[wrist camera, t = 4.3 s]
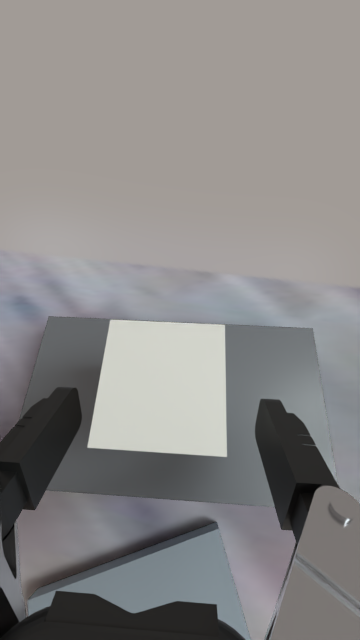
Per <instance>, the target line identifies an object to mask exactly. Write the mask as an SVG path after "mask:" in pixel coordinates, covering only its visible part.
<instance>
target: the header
mask: <svg viewBox="0 0 360 640" xmlns="http://www.w3.org/2000/svg"><path fill="white" fill-rule="evenodd" d="M110 320H119V319H97V318H75V317H54V316H49V318H48V321H47V325H46V328H45V332H44V335H43V339H42V342H41V346H40V349H39V353H38V356H37V360H36V363H35V366H34V370H33V373H32V377H31V380H30V384H29V387H28V391H27V394H26V398H25V401H24V405H23V408H22V412H21V415H20V419H22V418H23V416H24V414H25V413H26V412H27V411H28V410H29V409H30V407H31V406H33V405H34V404H36V403H37V402H39V401H40V400H42V399H43V398H48V397H49V396H50V395H51V394H52V392H53V391H54V390H55V389H56V388H57V387H72V388H77V390H78V394H79V400H80V406H81V412H82V421H81V425H80V428H79V430H78V432H77V434H76V436H75V437H74V439H73V441H72V443H71V445H70V447H69V449H68V450H67V452H66V454H65V456H64V458H63V460H62V461H61V463H60V465H59V467H58V469H57V471H56V472H55V474H54V476H53V478H52V480H51V482H50V483H49V485H48V487H47V489H46V490H50V491H63V492H77V493H90V494H104V495H117V496H131V497H144V498H158V499H171V500H184V501H198V502H211V503H225V504H238V505H252V506H265V507H275V505H274V502H273V498H272V495H271V491H270V488H269V484H268V481H267V477H266V474H265V470H264V467H263V463H262V460H261V456H260V453H259V449H258V446H257V442H256V438H255V423H256V418H257V413H258V408H259V403H260V400H261V399H279V400H280V401H281V402H282V404H283V406H284V408H285V410H286V412H287V413H294V414H295V415H296V416H297V417H298V418H299V419H300V420H301V421H302V422H303V423H304V424H305V426H306V428H307V429H308V431H309V433H310V437H312V439H313V440H314V442H315V444H316V447H317V448H318V450H319V451H320V453H321V455H322V457H323V459H324V460H325V462H326V464H327V466H328V468H329V470H330V471H331V473H332V475H333V477H334V479H335V481H336V482H337V484H338V481H337V475H336V469H335V463H334V457H333V450H332V444H331V438H330V432H329V426H328V420H327V414H326V407H325V401H324V395H323V389H322V383H321V377H320V370H319V364H318V358H317V352H316V346H315V340H314V334H313V328H292V327H271V326H249V325H227V324H219V325H225V362H226V428H227V457H219V456H204V455H189V454H174V453H159V452H144V451H130V450H115V449H100V448H87V446H88V441H89V435H90V430H91V424H92V418H93V413H94V407H95V402H96V396H97V391H98V385H99V380H100V374H101V369H102V363H103V357H104V352H105V346H106V341H107V335H108V330H109V324H110ZM132 321H140V320H132ZM154 322H162V321H154ZM175 323H184V322H175ZM197 324H205V323H197ZM20 419H19V420H20Z"/></svg>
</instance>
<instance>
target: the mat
mask: <svg viewBox="0 0 360 640" xmlns="http://www.w3.org/2000/svg"><path fill="white" fill-rule="evenodd" d="M56 591H66V592H78V593H90V594H96V595H98V596H100V597H102V598H103V599H105V600H107V601H109V602H111V603H113V604H115V605H117V606H119V607H121V608H122V609H124V610H126V611H128V612H131V613H138V612H142V611H145V610H148V609H151V608H155V607H158V606H161V605H165V604H168V603H171V602H175V601H184V602H195V603H207V604H217V614H218V619H219V620H221V621H223V622H225V623H227V624H228V625H229V626H231V627H232V628H234V629H235V630H236V631H237V632H238V633H239V634H240V635H242V636H243V637H244V638H245V639H246V640H251V639H250V635H249V632H248V628H247V625H246V621H245V618H244V614H243V611H242V608H241V604H240V601H239V597H238V594H237V590H236V587H235V583H234V580H233V576H232V573H231V569H230V566H229V563H228V559H227V556H226V552H225V549H224V545H223V542H222V538H221V535H220V531H219V528H218V525H217V522H215V523H212V524H210V525H207V526H204V527H202V528H199V529H196V530H194V531H191V532H188V533H186V534H183V535H180V536H178V537H175V538H172V539H169V540H167V541H164V542H161V543H159V544H156V545H153V546H151V547H148V548H145V549H143V550H140V551H137V552H135V553H132V554H129V555H127V556H124V557H121V558H119V559H116V560H113V561H110V562H108V563H105V564H102V565H100V566H97V567H94V568H92V569H89V570H86V571H84V572H81V573H78V574H76V575H73V576H70V577H68V578H65V579H62V580H59V581H57V582H54V583H51V584H49V585H46V586H43V587H41V588H38V589H37V590H36V591H35V593H34V594H33V595H32V596H31V597H30V598H29V599H28V616H30V615H31V614H33V613H35V612H37V611H39V610H41V609H43V608H45V607H49V606H51V603H52V600H53V598H54V595H55V592H56Z"/></svg>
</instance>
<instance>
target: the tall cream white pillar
mask: <svg viewBox="0 0 360 640" xmlns="http://www.w3.org/2000/svg"><path fill="white" fill-rule="evenodd" d="M87 448H100V449H115V450H130V451H144V452H159V453H174V454H189V455H204V456H219V457H227V428H226V362H225V325H219V324H197V323H175V322H154V321H132V320H110V324H109V330H108V335H107V341H106V346H105V352H104V357H103V363H102V369H101V374H100V380H99V385H98V391H97V396H96V402H95V407H94V413H93V418H92V424H91V430H90V435H89V441H88V446H87Z"/></svg>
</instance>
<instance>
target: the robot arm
mask: <svg viewBox="0 0 360 640" xmlns="http://www.w3.org/2000/svg"><path fill="white" fill-rule="evenodd" d="M81 421H82V412H81V406H80V400H79V394H78V390H77V388H72V387H57V388H56V389H55V390H54V391H53V392H52V394H51V395H50V396H49V397H48V398H43V399H42V400H40V401H39V402H37V403H36V404H34V405H33V406H31V407H30V409H29V410H28V411H27V412H26V413H25V414H24V416H23V418H22V419H20V420H19V421H18V422H17V424H16V425H15V427H13V428H12V429H11V431H10V432H9V433H8V434H7V435H6V436H5V437H4V439H3V440H2V441H1V442H0V640H246V639H245V638H244V637H243V636H242V635H240V634H239V633H238V632H237V631H236V630H235V629H234V628H232V627H231V626H229V625H228V624H227V623H225V622H223V621H221V620H219V619H218V614H217V604H207V603H195V602H184V601H175V602H171V603H168V604H165V605H161V606H158V607H155V608H151V609H148V610H145V611H142V612H138V613H131V612H128V611H126V610H124V609H122V608H121V607H119V606H117V605H115V604H113V603H111V602H109V601H107V600H105V599H103V598H102V597H100V596H98V595H96V594H90V593H78V592H66V591H56V592H55V595H54V598H53V600H52V603H51V606H49V607H45V608H43V609H41V610H39V611H37V612H35V613H33V614H31V615H30V616H28V617H26V609H25V603H24V598H23V594H22V588H21V579H20V562H19V544H18V527H17V521H16V519H17V518H18V516H19V514H20V513H21V511H22V509H27V510H35V509H36V507H37V505H38V504H39V502H40V500H41V498H42V496H43V494H44V493H45V491H46V489H47V487H48V485H49V483H50V482H51V480H52V478H53V476H54V474H55V472H56V471H57V469H58V467H59V465H60V463H61V461H62V460H63V458H64V456H65V454H66V452H67V450H68V449H69V447H70V445H71V443H72V441H73V439H74V437H75V436H76V434H77V432H78V430H79V428H80V425H81ZM255 438H256V442H257V446H258V449H259V453H260V456H261V460H262V463H263V467H264V470H265V474H266V477H267V481H268V484H269V488H270V491H271V495H272V498H273V502H274V505H275V509H276V512H277V516H278V519H279V523H280V526H281V530H293V533H294V536H295V540H296V544H295V547H294V550H293V553H292V556H291V559H290V562H289V566H288V569H287V572H286V575H285V578H284V581H283V584H282V587H281V590H280V594H279V597H278V600H277V603H276V606H275V609H274V612H273V615H272V618H271V621H270V624H269V626H268V629H267V632H266V635H265V638H264V640H360V504H359V502H358V501H357V500H355V499H354V498H353V497H352V496H351V495H350V494H348V493H347V492H345V491H343V490H341V489H340V488H339V486H338V484H337V482H336V481H335V479H334V477H333V475H332V473H331V471H330V470H329V468H328V466H327V464H326V462H325V460H324V459H323V457H322V455H321V453H320V451H319V450H318V448H317V447H316V444H315V442H314V440H313V439H312V437H310V433H309V431H308V429H307V428H306V426H305V424H304V423H303V422H302V421H301V420H300V419H299V418H298V417H297V416H296V415H295V414H294V413H287V412H286V410H285V408H284V406H283V404H282V402H281V401H280V400H279V399H261V400H260V403H259V408H258V413H257V418H256V423H255Z"/></svg>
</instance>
